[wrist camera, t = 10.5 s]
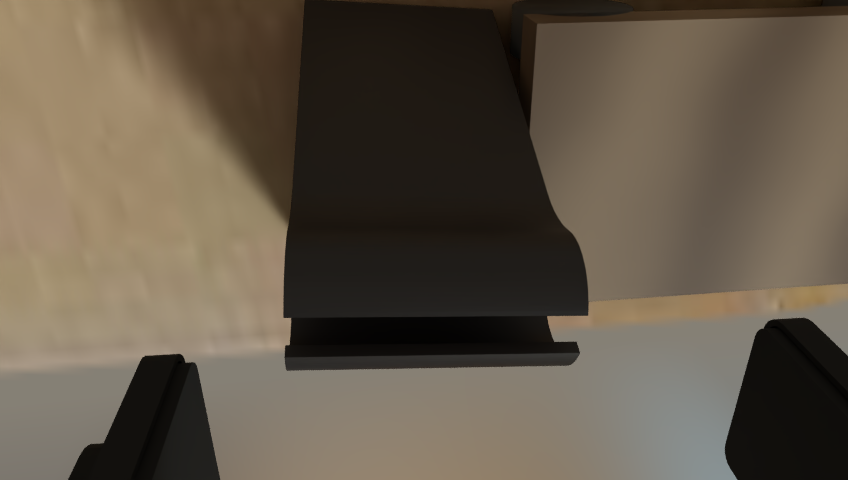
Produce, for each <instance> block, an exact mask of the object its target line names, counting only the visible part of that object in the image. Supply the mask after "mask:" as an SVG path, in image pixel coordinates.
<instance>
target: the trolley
mask: <svg viewBox="0 0 848 480" xmlns="http://www.w3.org/2000/svg"><path fill="white" fill-rule="evenodd" d="M510 54H511V55H512V56H514V57H516V58H518V59H520V60H521V62H520V79H519V95H518V97H519V100H520V103H521V107H522V110H523V113H524V117H525V120H526V123H527V126H528V130H529V133H530V136H531V140H532V143H533V146H534V150H535V153H536V156H537V159H538V163H539V166H540V169H541V173H542V176H543V179H544V182H545V186H546V189H547V192H548V195H549V199H550V201H551V204H552V206H553V209H554V211H555V213H556V215H557V217H558V218H559V220H560V221H561V223H562V224H563V225H564V226H565V227H566V228H567V229H568V230H569V231H570V232H571V233H572V234H573V235H574V236H575V238H576V240H577V242H578V244H579V246H580V249H581V252H582V255H583V259H584V263H585V268H586V274H587V282H588V302H592V301H606V300H620V299H634V298H648V297H663V296H677V295H691V294H705V293H719V292H734V291H748V290H762V289H776V288H791V287H805V286H819V285H833V284H847V283H848V0H823V3H822V6H821V7H788V8H749V9H711V10H672V11H633V7H632V6H630V5H628V4H624V3H620V2H615V1H609V0H524V1H519V2H516V3H514V4H513V5H512V23H511V42H510Z"/></svg>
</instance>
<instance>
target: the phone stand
mask: <svg viewBox="0 0 848 480" xmlns="http://www.w3.org/2000/svg"><path fill="white" fill-rule="evenodd" d="M283 315H284V318H291V337H290V345H286V346H285V365H286V370H287V371H290V370H344V369H345V370H346V369H402V368H457V367H510V366H511V367H512V366H567V365H571V364H572V363H573V362H575V360H576V359H577V357H578V356H579V354H580V352H579V348H578V345H577V342H554V340H553V338H552V335H551V332H550V329H549V325H548V320H547V316H588V282H587V274H586V268H585V263H584V259H583V255H582V252H581V249H580V246H579V244H578V242H577V240H576V238H575V236H574V235H573V234H572V233H571V232H570V231H569V230H568V229H567V228H566V227H565V226H564V225H563V224H562V223H561V221H560V220H559V218H558V217H557V215H556V213H555V211H554V209H553V206H552V204H551V201H550V199H549V195H548V192H547V189H546V186H545V182H544V179H543V176H542V173H541V169H540V166H539V163H538V159H537V156H536V153H535V150H534V146H533V143H532V140H531V136H530V133H529V130H528V126H527V123H526V120H525V117H524V113H523V110H522V107H521V103H520V100H519V97H518V94H517V90H516V87H515V84H514V80H513V77H512V74H511V71H510V67H509V64H508V61H507V57H506V54H505V51H504V47H503V44H502V41H501V38H500V34H499V31H498V28H497V24H496V21H495V18H494V15H493V11H492V10H490V9H472V8H454V7H436V6H418V5H400V4H382V3H364V2H346V1H327V0H305V5H304V21H303V36H302V51H301V67H300V82H299V97H298V113H297V128H296V143H295V159H294V174H293V189H292V202H291V212H290V220H289V226H288V230H287V238H286V249H285V267H284V312H283Z"/></svg>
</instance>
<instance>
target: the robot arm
mask: <svg viewBox="0 0 848 480" xmlns="http://www.w3.org/2000/svg"><path fill="white" fill-rule="evenodd" d="M725 455H726V460H727V463H728V465H729V467H730V469H731V470H732V472H733V473H734V475H735V476H736V478H737V480H848V356H847V355H846V354H845V353H844V352H843V351H842V350H841V349H840V348H839V347H838V346H837V345H836V344H835V343H834V342H833V341H832V340H830V338H829V337H828V336H827V335H826V334H824V333H823V332H822V331H821V330H820V329H819V328H818V327H817V326H816V325H815V324H814V323H813V322H812V321H810V320H809V319H806V318H792V319H774V320H770V321H768V322H767V324H766V325H765V327H764V329H760V330H759V331H758V332H757V333H756V336H755V339H754V342H753V346H752V350H751V353H750V357H749V360H748V364H747V368H746V371H745V375H744V378H743V382H742V386H741V389H740V393H739V397H738V400H737V404H736V408H735V412H734V415H733V419H732V422H731V426H730V429H729V433H728V436H727V440H726V444H725ZM68 480H220V476H219V472H218V467H217V462H216V457H215V452H214V447H213V443H212V437H211V433H210V428H209V423H208V418H207V413H206V408H205V403H204V398H203V393H202V388H201V383H200V379H199V374H198V369H197V366H196V364H195V363H194V362H191V363H185V360H184V357H183V356H182V355H181V354H171V355H154V356H145V357H143V358H142V359H141V361H140V363H139V365H138V367H137V370H136V372H135V374H134V377H133V379H132V381H131V383H130V385H129V388H128V390H127V392H126V394H125V397H124V399H123V401H122V403H121V406H120V408H119V410H118V412H117V415H116V417H115V419H114V422H113V424H112V426H111V428H110V430H109V433H108V435H107V437H106V439H105V441H104V443H102V444H90V445H88V446H87V447H86V448H84V450H83V452H82V453H81V455H80V456H79V458H78V460H77V462H76V465H75V467H74V469H73V471H72V473H71V475H70V477H69V479H68Z"/></svg>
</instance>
